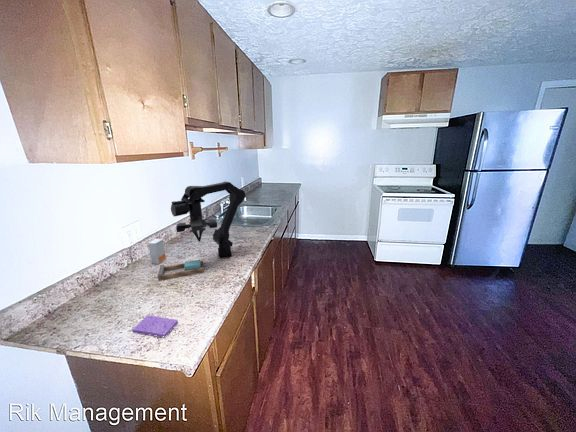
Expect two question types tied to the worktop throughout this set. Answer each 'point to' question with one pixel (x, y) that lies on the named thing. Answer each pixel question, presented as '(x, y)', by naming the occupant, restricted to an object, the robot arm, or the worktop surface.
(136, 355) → the worktop surface
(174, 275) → the guide channel
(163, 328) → the sponges
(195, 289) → the worktop surface
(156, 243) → the skincare box
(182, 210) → the robot arm
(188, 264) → the block
